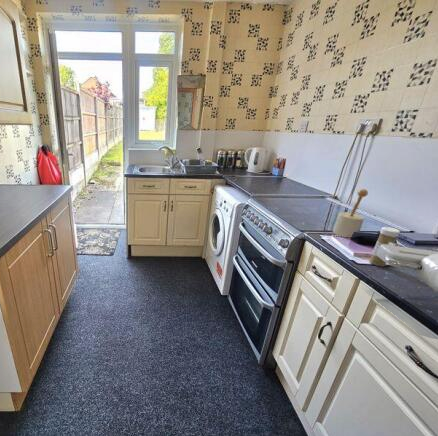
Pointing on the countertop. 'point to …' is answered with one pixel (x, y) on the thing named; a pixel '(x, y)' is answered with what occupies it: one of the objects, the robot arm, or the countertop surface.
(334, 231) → the utensil crock
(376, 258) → the sprinkles bottle
